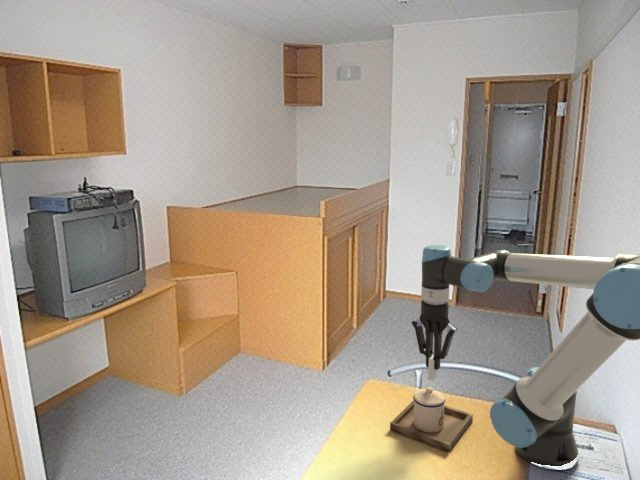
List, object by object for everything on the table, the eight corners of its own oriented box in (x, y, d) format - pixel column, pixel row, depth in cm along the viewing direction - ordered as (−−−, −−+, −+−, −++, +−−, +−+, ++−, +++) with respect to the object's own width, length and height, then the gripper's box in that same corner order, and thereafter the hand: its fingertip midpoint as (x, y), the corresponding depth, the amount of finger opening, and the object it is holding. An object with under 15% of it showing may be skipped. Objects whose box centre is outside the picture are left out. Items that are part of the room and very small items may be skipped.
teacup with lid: (445, 435, 136) (447, 397, 134) (413, 432, 137) (413, 395, 135) (442, 411, 147) (443, 376, 145) (411, 410, 149) (412, 375, 147)
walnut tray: (472, 421, 144) (472, 414, 143) (449, 453, 130) (449, 444, 129) (417, 403, 154) (417, 396, 154) (390, 430, 140) (390, 423, 140)
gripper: (407, 300, 135) (406, 377, 140) (452, 308, 127) (449, 390, 132) (419, 293, 141) (417, 367, 146) (462, 301, 133) (459, 379, 138)
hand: (432, 378), depth 139 cm, fingers closed
